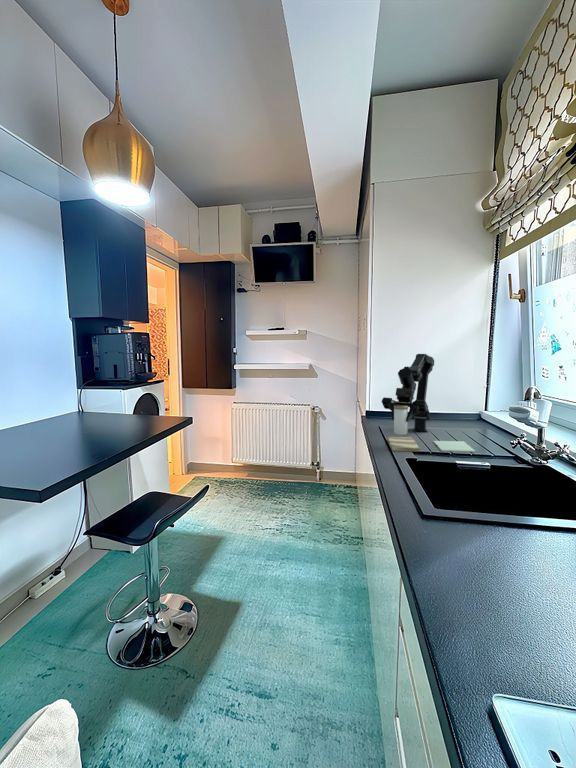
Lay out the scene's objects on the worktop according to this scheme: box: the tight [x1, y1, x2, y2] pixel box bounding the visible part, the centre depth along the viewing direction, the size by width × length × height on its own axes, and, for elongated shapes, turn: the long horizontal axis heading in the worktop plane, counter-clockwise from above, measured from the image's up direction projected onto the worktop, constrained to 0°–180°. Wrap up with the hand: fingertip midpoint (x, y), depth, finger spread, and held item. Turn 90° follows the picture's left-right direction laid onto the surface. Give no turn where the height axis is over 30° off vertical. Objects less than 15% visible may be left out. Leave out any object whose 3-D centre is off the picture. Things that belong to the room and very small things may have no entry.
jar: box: [393, 405, 409, 436], centre depth 140 cm, size 6×6×12 cm
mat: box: [432, 440, 476, 453], centre depth 141 cm, size 13×13×1 cm
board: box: [387, 436, 421, 453], centre depth 144 cm, size 16×11×2 cm
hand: (399, 420), depth 139 cm, fingers closed on jar, 6 cm apart
